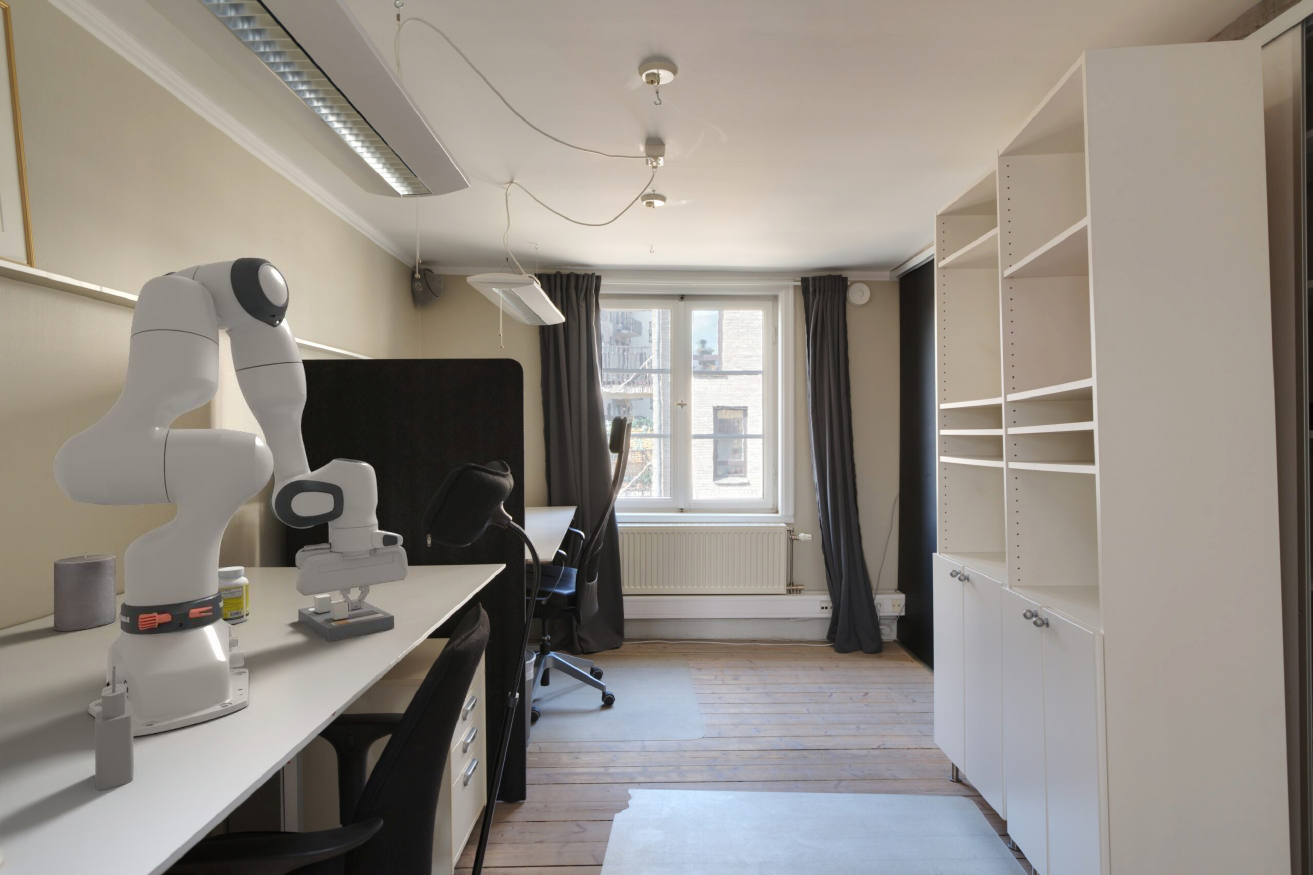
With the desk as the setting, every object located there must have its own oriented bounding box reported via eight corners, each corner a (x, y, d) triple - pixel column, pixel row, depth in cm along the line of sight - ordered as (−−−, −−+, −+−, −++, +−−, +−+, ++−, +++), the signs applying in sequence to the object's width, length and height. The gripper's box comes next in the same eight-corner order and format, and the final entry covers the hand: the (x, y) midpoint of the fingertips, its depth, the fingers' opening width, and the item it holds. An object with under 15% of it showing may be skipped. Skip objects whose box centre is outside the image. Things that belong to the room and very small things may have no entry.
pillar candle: (65, 622, 135) (64, 550, 135) (123, 615, 139) (122, 546, 139) (44, 634, 126) (43, 558, 126) (107, 627, 130) (106, 553, 130)
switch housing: (394, 627, 126) (394, 615, 126) (328, 641, 118) (328, 628, 118) (358, 609, 141) (358, 598, 141) (298, 620, 132) (298, 608, 132)
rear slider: (331, 610, 130) (330, 595, 130) (318, 613, 128) (318, 598, 128) (327, 608, 132) (327, 593, 132) (314, 610, 130) (314, 595, 130)
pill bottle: (230, 617, 136) (229, 565, 136) (256, 617, 136) (255, 565, 136) (205, 625, 130) (205, 571, 130) (233, 626, 129) (232, 571, 129)
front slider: (348, 617, 125) (347, 602, 125) (334, 619, 123) (334, 604, 123) (343, 614, 127) (343, 599, 127) (330, 617, 125) (330, 602, 125)
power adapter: (133, 762, 74) (132, 658, 74) (133, 781, 69) (131, 671, 69) (97, 771, 72) (96, 664, 72) (95, 792, 67) (93, 678, 67)
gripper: (300, 548, 117) (301, 623, 117) (410, 535, 131) (411, 603, 131) (290, 544, 122) (291, 617, 122) (398, 533, 136) (399, 598, 136)
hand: (354, 609), depth 127 cm, fingers closed
